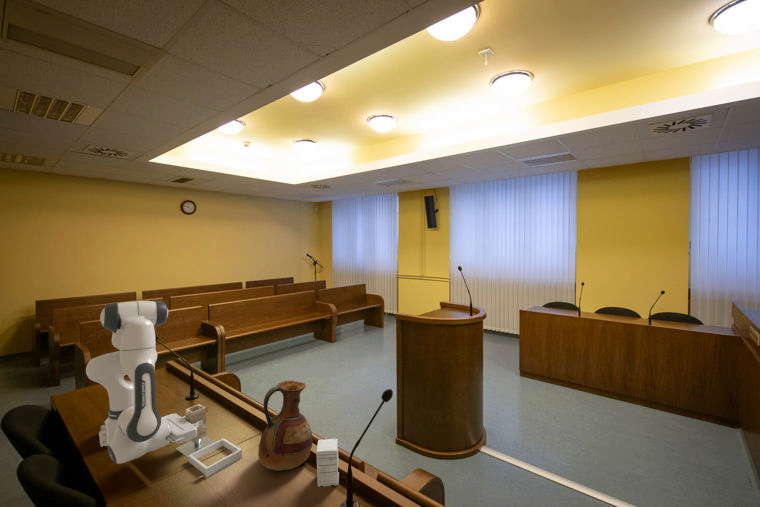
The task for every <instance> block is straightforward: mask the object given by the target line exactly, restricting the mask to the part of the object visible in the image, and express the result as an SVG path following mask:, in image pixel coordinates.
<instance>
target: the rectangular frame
mask: <svg viewBox="0 0 760 507" xmlns="http://www.w3.org/2000/svg"><path fill="white" fill-rule="evenodd" d="M222 447H224V448H226V449H227V450H229V451H230V452H232V453H231V454H228V455H227V456H225V457H223V458H221V459H219V460H218V461H216V462H214V463H212V464H211V465H209V466H207V465H206V464H204V463H203V462H201V461H200V460H199V458H201V457H202V458H203V457H204V456H205V455H207V454H209V453H212V452H213V451H215V450H217V449H219V448H222ZM240 458H242V459H243V449H242V448H240V447H239V446H237V445H236V444H234V443H232V442H230V441H228V440H227V439H226V438H224V437H223V438H220V439H219V440H217V441H216V442H215V443H213V444H211V445H209V446H207V447H204V448H202V449H200V450H198V451H196V452H194V453H192V454H190V455H188V457H187V459H188V463H190V464H191V465H192V466H193V467H195V468H196V469H197V470H199V471H200V472H201V473H202V474H201V475H202V476H203V477H204V478H205V479H208V478H210V477H212V476H214V475H215V474H217V473H219V472H221V471H222V470H224V469H226V468H228V467H229V466H231V465H233V464H235V463H236V462H235V461H237V460H238V461H240V460H241V459H240ZM239 459H240V460H239ZM238 461H237V462H238ZM234 462H235V463H234ZM232 463H233V464H232ZM227 466H228V467H227ZM225 467H226V468H225Z"/></svg>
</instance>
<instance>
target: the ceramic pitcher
mask: <svg viewBox="0 0 760 507" xmlns="http://www.w3.org/2000/svg"><path fill="white" fill-rule="evenodd" d="M306 386H307V384H306V383H305V382H300V381H297V380H284V381H280V383H277V384H276V385H275V386H273V387H272V388H270V389H269V390H268V391H267V392H266V394H265V397H264V399H263V412H264V415H265V419H266V422H267V423H266V424H267V425H266V427H265V429H264V430H263V432H262V434H261V437H260V440H259V445H258V460H259V462H260V463H261V465H262V466H264V467H265V468H266V469H269V470H272V471H283V470H284V471H285V470H286V471H287V470H291V469H294V468H296V467H298V466H300V465H301V464H303V463H304V462H306V461H307V460H308V459H309V457H310V456H311V454H310V450H311V448H313V433H312V429H311V426H310V423H309V421H308V420H307V419H306V417H305V416H304V415H303V414H302V413H300V407H299V404H300V402H301V393H302V391H303V390H304V389H306ZM276 392H281V393H282V397H283V400H282V407H281V409H280V412H279V413H278V414H276V415H275V416H273V417H271V416H270V414H269V410H268V406H269V405H268V404H269V401H270V398H271V396H272V395H273V394H275V393H276ZM311 451H312V450H311ZM309 455H310V456H309Z"/></svg>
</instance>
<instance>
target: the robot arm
mask: <svg viewBox="0 0 760 507" xmlns="http://www.w3.org/2000/svg"><path fill="white" fill-rule="evenodd" d="M99 315H100V317H99V319H100V320H99V321H100V323H101V325H102V328H104V329H105V330H107V331H110V332H112V336H111V345H112V346H113V347H114V348H115V349H118V351H113V352H107V353H105V354H102V355H99V356H96V357H94V358H91V359H90V360H89V362H88V363H87V365H86V368H85V374H86V377H87V378H88V379H89V380H91V381H92V382H94V383H95V382H96V383H98V384H100V385H101V386H102V387H103V388H105V390H106V391H107V394H108V400H109V409H108V412H107V413H108V414H107V415H108V417H107V418H106V420H105V421H104V424H102V425H100V431H98V437H99V445H100V447H102V448H104V447H103V446H105V447H107V454H108V456H109V458H110V460H111V461H112V462H113V463H114V464H117V465H121V464H125V463H127V462H131V461H133V460H136V459H138V458H140V457H143V456H144V455H145V454H147V453H149V452H153V451H156V450H158V449H161V448H163V447H165V446H168V445H169V444H170V443H171V444H182V443H185V442H189V441H190V440H191V439H193V438H195V437H196V436H197V428H198V427H199V426H201V425H202V424H203V421H202V420H198V421H197V422H196V423H195V424H194V423H193V424H191V423H189V422H188V421H186V415H184V416H180V415H179V414H177V413H171V414H168V415H164V416H161V414H160V413H159V410H158V409H157V400H156V399H157V398H156V397H157V396H156V393H157V392H156V375H155V374H156V372H155V370H156V369H155V366H156V363H157V359H158V352H157V350H156V347H157V346H156V330H155V327H159V326H162V325H164V324H165V323H166V322H167V319H168V316H169V309H168V306H167V303H165V302H164V301H162V300H161V301H160V300H155V301H154V300H153V301H152V300H151V301H150V300H136V301H125V302H110V303H108V304H105V306H104V307H103V309H102V311H101V313H100V314H99ZM126 375H127V376H128V378H129V379H130V380H126V379H125V376H126Z"/></svg>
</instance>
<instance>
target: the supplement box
mask: <svg viewBox="0 0 760 507" xmlns="http://www.w3.org/2000/svg"><path fill="white" fill-rule="evenodd" d="M317 440H318V441H317V445H316V475H317V476H316V478H317V479H316V480H317V482H316V483H317V487H318V488H319V487H320V486H323V487H332V486H331V485H334V486H339V482H340V481H339V479H340V471H339V472H338V466H340V465H339V441H338V438H328V439H317ZM320 488H321V487H320Z"/></svg>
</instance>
